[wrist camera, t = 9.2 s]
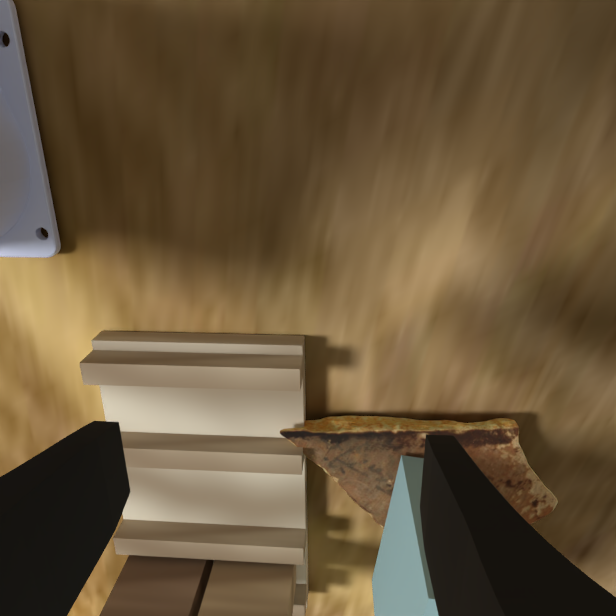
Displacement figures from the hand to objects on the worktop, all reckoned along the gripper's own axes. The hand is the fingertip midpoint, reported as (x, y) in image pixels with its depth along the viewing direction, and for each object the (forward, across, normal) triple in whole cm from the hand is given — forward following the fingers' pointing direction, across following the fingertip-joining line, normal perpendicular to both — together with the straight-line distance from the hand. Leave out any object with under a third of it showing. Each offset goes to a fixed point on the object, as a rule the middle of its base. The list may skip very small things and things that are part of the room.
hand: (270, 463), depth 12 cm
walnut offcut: (+9, +7, +13) cm, 18 cm away
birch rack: (+10, +5, +9) cm, 14 cm away
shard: (+10, -5, +9) cm, 15 cm away
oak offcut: (+9, +3, +13) cm, 17 cm away
